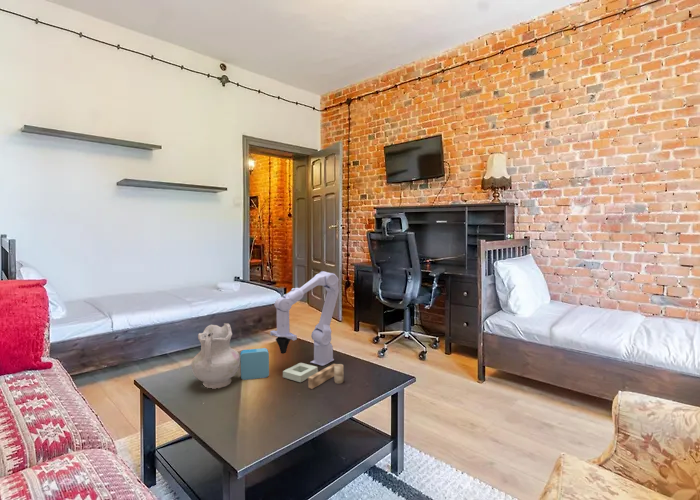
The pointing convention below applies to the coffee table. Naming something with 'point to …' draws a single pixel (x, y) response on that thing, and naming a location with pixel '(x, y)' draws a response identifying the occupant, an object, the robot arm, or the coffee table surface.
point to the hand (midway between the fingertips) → (283, 352)
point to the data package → (254, 363)
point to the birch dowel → (338, 373)
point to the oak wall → (321, 376)
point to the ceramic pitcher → (215, 357)
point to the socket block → (300, 372)
